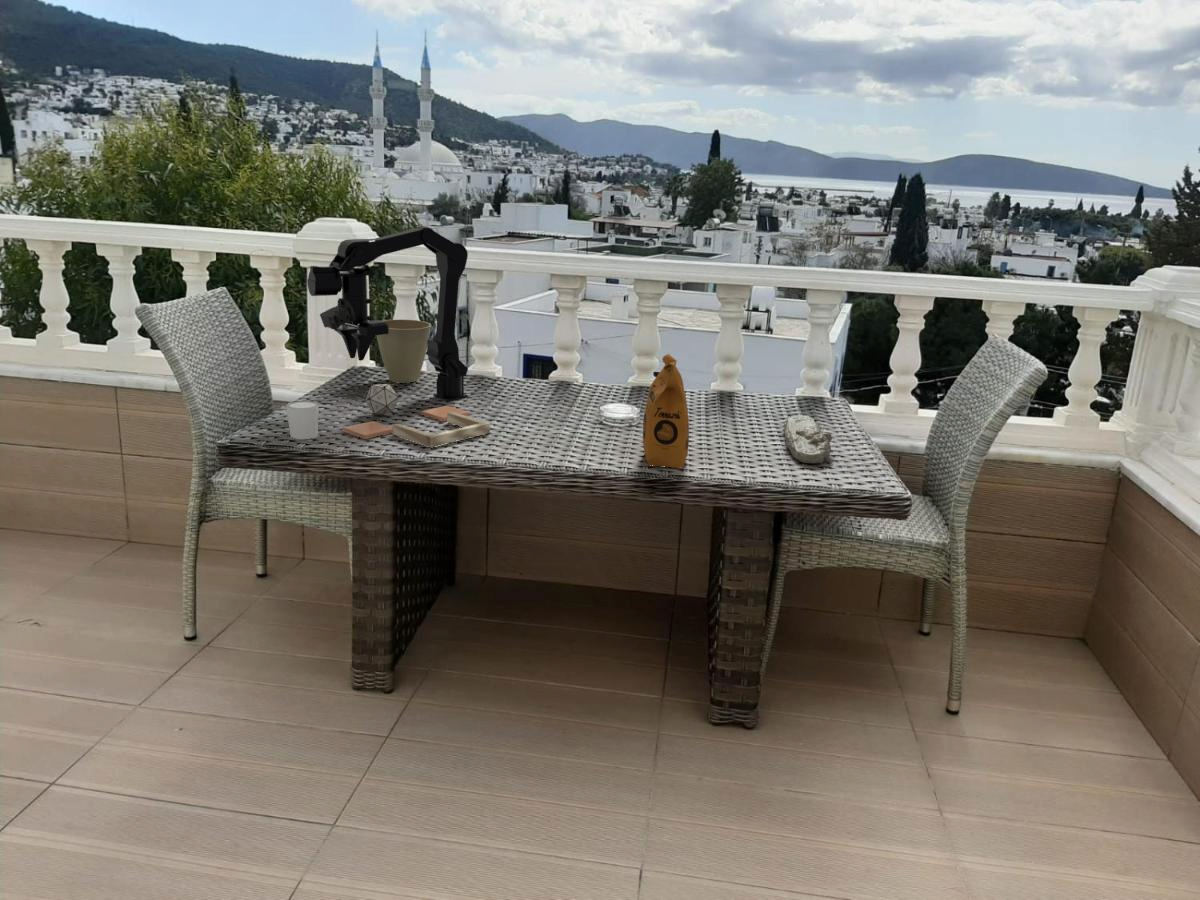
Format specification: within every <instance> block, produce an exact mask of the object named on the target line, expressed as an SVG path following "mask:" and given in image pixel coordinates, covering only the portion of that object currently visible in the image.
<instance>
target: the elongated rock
mask: <svg viewBox="0 0 1200 900" xmlns="http://www.w3.org/2000/svg"><path fill="white" fill-rule="evenodd" d="M783 427H784V428H783V429H782V431H783V433H784V441H785V446H786V447H787V448H788V449H789V451H790V453H791V456H792V457H793V458H794V459H796V460H798V461H799V462H801V463H804V464H823V462H824V461H825V460H826V461H828V459H829V458H830V454H831V452H832V449H831V446H830V445H831V441H832V440H833V436H832V434H831V433H829V432H824V431H822V429H821V427H820V426H819V423H817V422H816V421H815V418H814V417H811V416H809V415H802V414H798V415H792V416H789V417H787V418H786V419H785V420H784V423H783Z"/></svg>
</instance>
